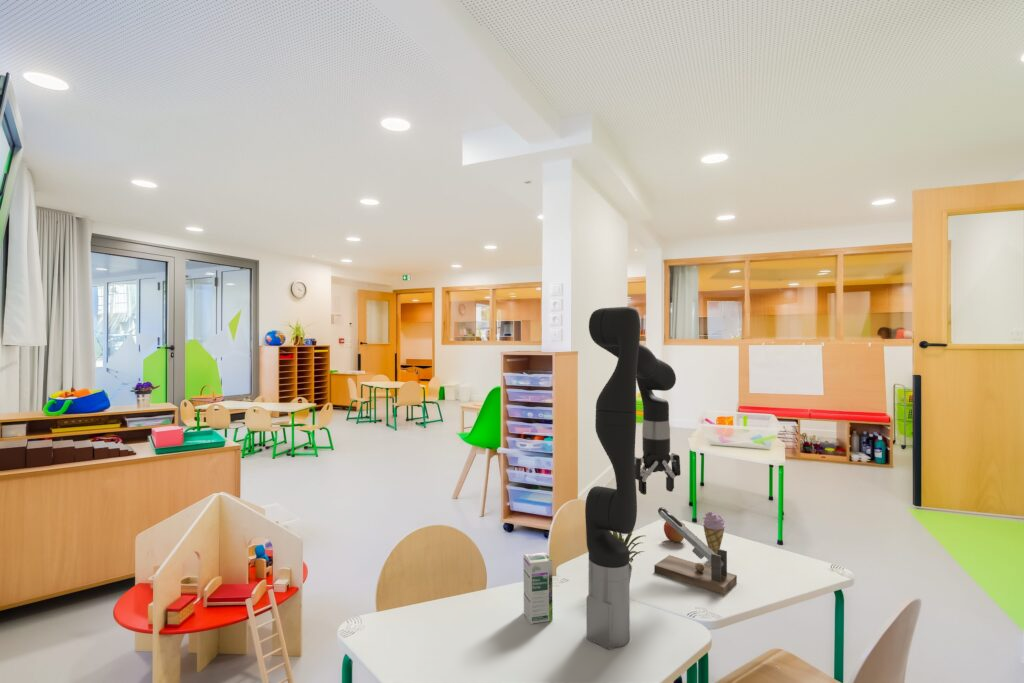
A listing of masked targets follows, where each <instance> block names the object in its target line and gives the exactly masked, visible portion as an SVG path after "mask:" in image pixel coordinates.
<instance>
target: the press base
mask: <svg viewBox="0 0 1024 683" xmlns="http://www.w3.org/2000/svg"><path fill="white" fill-rule="evenodd" d="M721 558H722V559H723V560H724V561H725V564H724V565H723V566H722V567H721ZM710 564H711V566H707V565H704V564H703V563H702V562H693V561H690V560H687V559H684V558H679V557H677V556H674V555H670V554H669V555H667V556H666V557H665V558H663V559H662V560H660V561H658V562H657V563H655V564H654V568H653V569H654V573H657V574H659V575H662V576H666V577H669V578H671V579H675V580H678V581H681V582H684V583H687V584H689V585H692V586H693V585H694V586H696V587H699V588H702V589H705V590H706V591H707V590H708V591H711V592H713V593H717V594H720V595H723V596H724V595H726V593H727V592H729V591H730V589H732V588H733V587H734V586H735V584H736V583H738V582H737V581H738V580H737V579H738V577H737V575H736V574H734V573H731V572H728V550H725V549H721V548H720V549H717V555H716V554H713V553H712V554H711V562H710Z"/></svg>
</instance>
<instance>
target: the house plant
mask: <svg viewBox="0 0 1024 683" xmlns="http://www.w3.org/2000/svg"><path fill="white" fill-rule="evenodd" d="M634 530H635V528H634V529H633V530H632V532H630V533H629V534H626V537H623V534H622V533H617V532H613V531H612V534H613V536H614V537H615V538H617V539H618V540H619V541H621V542H622V543H624V544H625V545H626V546H627V547H628V549H629V548H630V547H631V545H633V546H632V547H631V548H630V549H629V554H630V555H632V554H633V555H632V556H631V557H630V561H629V585H630V583H631V577H632V570H633V565H632V562H633V561H634V557H635V556H637V555H638V554H639V555H640V556H642V555H641V553H645V551H644V550H640V551H636V550H633V549H634V547H636V546H638V545H639V544H643V542H641V541H640V542H637V543H634V542H635V541H636V540H639V538H642V537H645V535H644V534H643V535H638V536H636V537H634V538H633V539H632V540H631V541H630V539H631V537H632V535H633V531H634ZM629 541H630V542H629Z"/></svg>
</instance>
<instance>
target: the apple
mask: <svg viewBox="0 0 1024 683" xmlns="http://www.w3.org/2000/svg"><path fill="white" fill-rule="evenodd" d="M680 522H681V523H682V524H683V525H684V526H686V524H685V523H683V522H682V521H680ZM663 532H664V535H665V537H666V539H668V540H669V541H670V542H671V543H673V542H674V543H676V542H677V543H681V542H682V541H684V539H685V538H684V537H683V536H682V535H680V534H679V533H678V532H677V531H676V530H675V529H674V528H673V527H672V526H671V525H670V524H668V523H667V522H666V521H665V522H664V524H663Z"/></svg>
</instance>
